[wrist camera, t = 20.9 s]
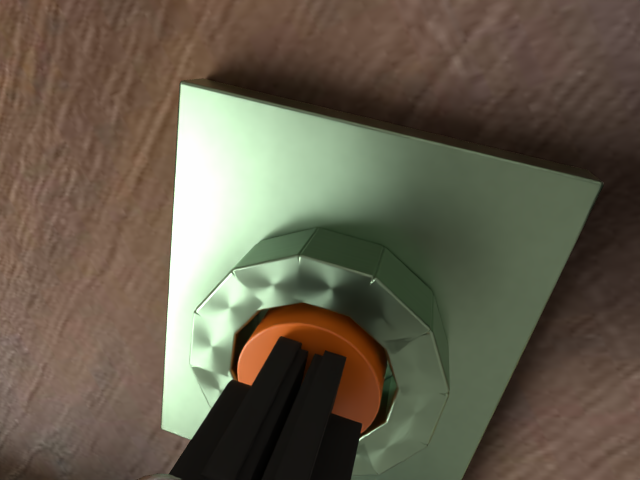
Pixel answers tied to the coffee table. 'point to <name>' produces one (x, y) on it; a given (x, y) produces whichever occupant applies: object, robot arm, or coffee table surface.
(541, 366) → the coffee table surface
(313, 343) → the power button
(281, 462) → the robot arm
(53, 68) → the coffee table surface
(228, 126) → the block
